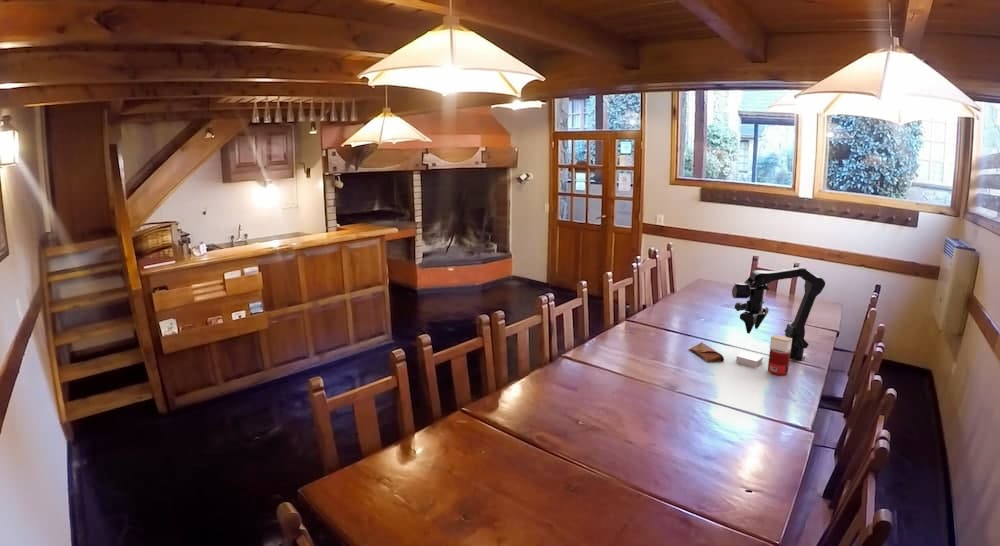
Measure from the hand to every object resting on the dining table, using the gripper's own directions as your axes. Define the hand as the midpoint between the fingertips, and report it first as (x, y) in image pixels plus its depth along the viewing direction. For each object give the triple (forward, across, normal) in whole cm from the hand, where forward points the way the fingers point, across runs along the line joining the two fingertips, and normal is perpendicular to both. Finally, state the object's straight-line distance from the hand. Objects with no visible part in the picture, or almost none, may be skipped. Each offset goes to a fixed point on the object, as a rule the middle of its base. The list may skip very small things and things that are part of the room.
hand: (752, 331), depth 272 cm
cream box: (+2, +10, +16) cm, 19 cm away
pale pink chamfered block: (+12, +8, +3) cm, 15 cm away
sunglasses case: (+13, +13, -15) cm, 24 cm away
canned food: (+13, +10, +16) cm, 23 cm away
